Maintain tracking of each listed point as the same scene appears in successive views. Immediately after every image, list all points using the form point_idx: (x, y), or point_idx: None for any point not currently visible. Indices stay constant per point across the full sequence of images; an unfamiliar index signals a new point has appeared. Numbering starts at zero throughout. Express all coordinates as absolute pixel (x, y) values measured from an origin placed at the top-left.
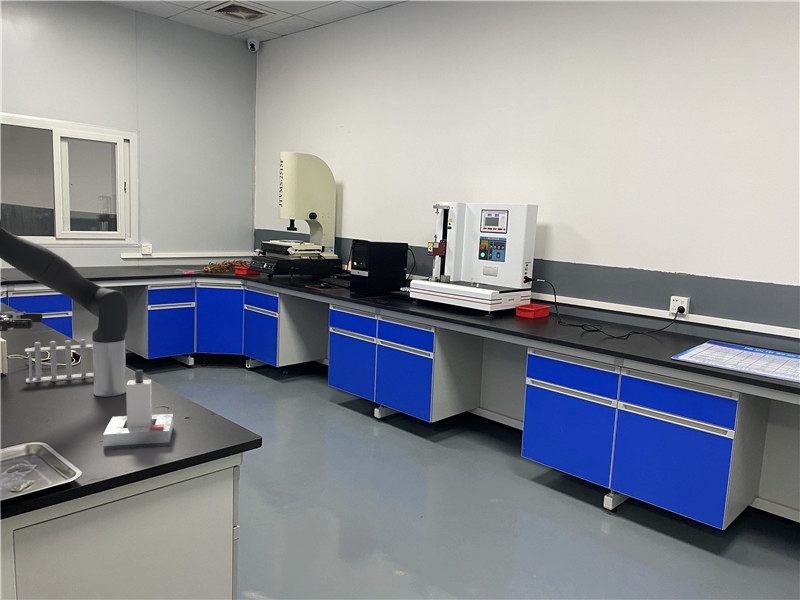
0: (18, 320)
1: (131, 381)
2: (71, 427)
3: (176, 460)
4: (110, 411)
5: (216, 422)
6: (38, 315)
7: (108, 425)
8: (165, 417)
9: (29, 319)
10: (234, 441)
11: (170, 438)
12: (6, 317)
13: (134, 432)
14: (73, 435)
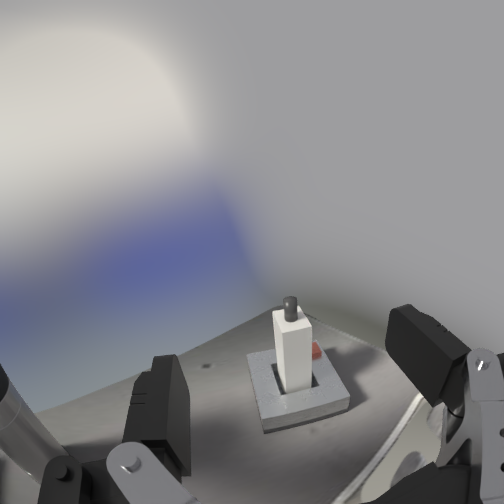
0: (447, 341)
1: (289, 327)
2: (243, 500)
3: (355, 337)
4: None
5: (229, 338)
6: (177, 373)
7: (309, 407)
8: (263, 357)
9: (409, 304)
10: None
11: None
12: (482, 401)
13: (332, 366)
14: (289, 480)
